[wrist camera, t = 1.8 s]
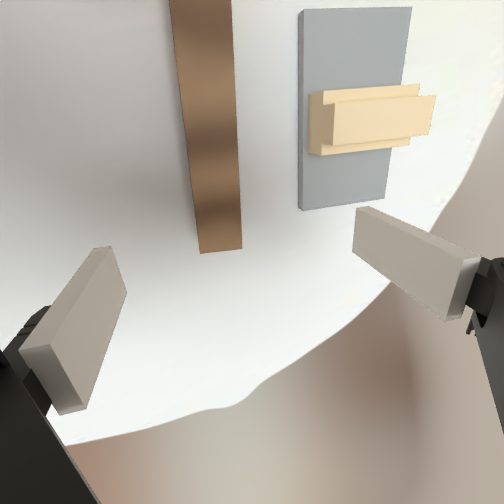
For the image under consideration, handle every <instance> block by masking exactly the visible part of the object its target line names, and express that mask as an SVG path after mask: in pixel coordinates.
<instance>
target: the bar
mask: <svg viewBox="0 0 504 504" xmlns="http://www.w3.org/2000/svg"><path fill="white" fill-rule="evenodd" d="M169 5H170V13H171V21H172V29H173V38H174V46H175V54H176V62H177V70H178V78H179V86H180V95H181V103H182V111H183V119H184V127H185V135H186V143H187V152H188V160H189V168H190V176H191V184H192V192H193V200H194V209H195V217H196V225H197V233H198V241H199V249H200V254H202V253H211V252H219V251H228V250H236V249H242V231H241V209H240V187H239V165H238V143H237V121H236V98H235V76H234V54H233V32H232V10H231V0H169Z"/></svg>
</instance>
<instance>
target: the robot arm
mask: <svg viewBox="0 0 504 504" xmlns="http://www.w3.org/2000/svg"><path fill="white" fill-rule="evenodd" d="M352 252H353V253H355V254H356V255H357V256H359V257H360V258H361V259H363V260H364V261H365V262H367V263H368V264H369V265H370V266H372V267H373V268H374V269H376V270H377V271H378V272H380V273H381V274H382V275H384V276H385V277H386V278H388V279H389V280H390V281H392V282H393V283H394V284H396V285H397V286H398V287H400V288H401V289H402V290H404V291H405V292H406V293H407V294H409V295H410V296H411V297H413V298H414V299H415V300H417V301H418V302H419V303H421V304H422V305H423V306H425V307H426V308H427V309H429V310H430V311H431V312H433V313H434V314H435V315H437V316H438V317H439V318H440V319H442V320H443V321H444V322H445V321H449V320H454V319H458V318H461V317H462V314H463V311H464V308H465V305H467V306H469V307H470V308H472V309H473V310H474V311H473V313H472V316H471V319H470V322H469V325H468V328H467V330H466V334H470V332H471V331H472V330H475V336H476V337H477V340H478V344H479V348H480V351H481V355H482V358H483V362H484V366H485V369H486V373H487V376H488V380H489V383H490V387H491V390H492V394H493V398H494V401H495V405H496V408H497V412H498V415H499V419H500V423H501V426H502V430H503V433H504V258H495V259H493V260H488V259H486V258H484V257H482V256H480V255H478V254H476V253H474V252H471V251H469V250H467V249H465V248H462V247H460V246H458V245H455V244H453V243H451V242H449V241H446V240H444V239H442V238H440V237H437V236H435V235H433V234H431V233H428V232H426V231H424V230H421V229H419V228H417V227H415V226H412V225H410V224H408V223H406V222H403V221H401V220H399V219H397V218H394V217H392V216H390V215H387V214H385V213H383V212H381V211H378V210H376V209H374V208H372V207H369V206H366V207H360V208H356V216H355V227H354V237H353V248H352ZM126 294H127V291H126V288H125V285H124V282H123V280H122V277H121V274H120V271H119V268H118V265H117V262H116V259H115V256H114V254H113V251H112V248H111V246H107V247H100V248H94V249H93V251H92V252H91V253H90V255H89V256H88V257H87V259H86V260H85V261H84V263H83V264H82V265H81V267H80V268H79V269H78V271H77V272H76V273H75V275H74V276H73V277H72V279H71V280H70V281H69V283H68V284H67V285H66V287H65V288H64V289H63V291H62V292H61V293H60V295H59V296H58V297H57V299H56V300H55V301H54V303H53V304H52V305H50V306H45V307H43V308H42V309H41V310H39V311H38V312H37V313H35V314H34V315H33V316H31V318H30V319H29V320H28V321H27V323H26V324H25V325H24V328H22V329H21V330H20V331H19V332H18V334H17V337H14V339H13V340H12V341H11V342H10V344H9V345H8V346H7V347H6V348H5V350H4V351H3V352H2V351H1V350H0V504H101V502H100V501H99V499H98V498H97V496H96V495H95V493H94V491H93V490H92V488H91V487H90V485H89V484H88V482H87V480H86V479H85V477H84V476H83V474H82V473H81V471H80V470H79V468H78V466H77V465H76V463H75V462H74V460H73V459H72V457H71V456H70V454H69V452H68V451H67V449H66V448H65V446H64V444H63V443H62V441H61V440H60V438H59V437H58V435H57V433H56V432H55V430H54V429H53V427H52V426H51V424H50V422H49V421H48V420H47V418H46V417H45V416H46V414H47V412H48V410H49V408H50V406H51V404H52V405H53V406H54V408H55V409H56V411H57V412H58V414H59V416H60V415H64V414H68V413H72V412H76V411H80V410H85V409H86V408H87V405H88V402H89V399H90V397H91V394H92V391H93V388H94V385H95V382H96V380H97V377H98V374H99V371H100V368H101V365H102V362H103V360H104V357H105V354H106V351H107V348H108V345H109V343H110V340H111V337H112V334H113V331H114V328H115V326H116V323H117V320H118V317H119V314H120V311H121V309H122V306H123V303H124V300H125V297H126Z"/></svg>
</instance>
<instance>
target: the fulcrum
mask: <svg viewBox="0 0 504 504" xmlns="http://www.w3.org/2000/svg"><path fill="white" fill-rule="evenodd" d="M411 12H412V7H377V8H330V9H304V10H302V11H301V12H300V13H299V14H298V106H299V209H301V210H302V211H306V210H312V209H319V208H325V207H332V206H338V205H345V204H351V203H358V202H365V201H371V200H378V199H384V197H385V190H386V183H387V176H388V170H389V163H390V156H391V149H392V147H399V146H407V145H409V144H410V138H411V137H412V136H421V135H428V134H429V129H430V124H431V119H432V114H433V109H434V104H435V99H436V95H428V96H418V92H419V86H420V84H409V85H401V80H402V73H403V67H404V60H405V53H406V46H407V39H408V32H409V25H410V18H411Z"/></svg>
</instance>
